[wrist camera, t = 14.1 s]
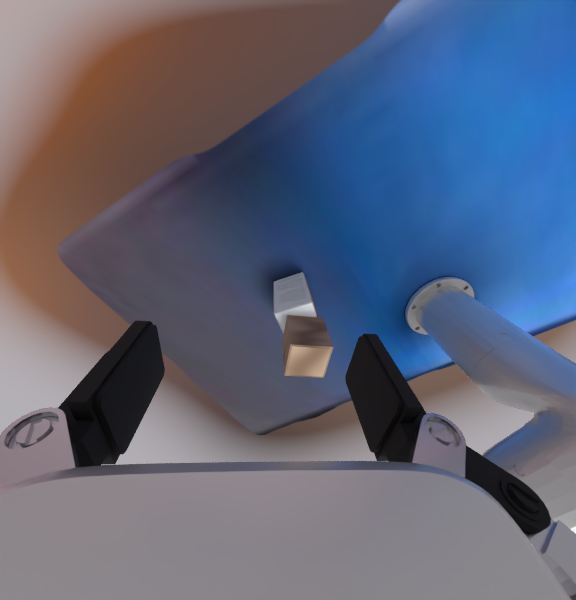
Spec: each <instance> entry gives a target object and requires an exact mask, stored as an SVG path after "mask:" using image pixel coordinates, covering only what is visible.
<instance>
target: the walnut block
mask: <svg viewBox="0 0 576 600" xmlns="http://www.w3.org/2000/svg"><path fill="white" fill-rule="evenodd" d="M282 348H283V361H284V375H285V376H303V377H324V375H325V372H326V369H327V365H328V362H329V359H330V356H331V353H332V349H333V345H332V342H331V340H330V337H329V334H328V331H327V328H326V325H325V323H324V320H323V318H318V317H306V316H294V315H287V318H286V324H285V330H284V336H283V342H282Z"/></svg>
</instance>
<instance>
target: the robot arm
mask: <svg viewBox="0 0 576 600" xmlns="http://www.w3.org/2000/svg"><path fill="white" fill-rule="evenodd" d="M405 317H406V321H407V323H408V325H409V326H410V327H411V328H412V329H413V330H414V331H415V332H417V333H420V334H424V335H429V336H430V337H431V338H432V339H433V340H434V341H435V342H436V343H437V344H438V345H439V346H440V347H441V348H442V349H443V350H444V352H445V353H446V354H447V355H448V356H449V357H450V358H451V359H452V360H453V361H454V362H455V363H456V364H457V365H458V366H459V368H460V369H461V370H462V371H463V372H464V373H465V374H466V375H467V376H468V377H469V378H470V379H471V380H472V381H473V382H474V383H475V385H477V387H478V388H479V389H480V390H481V391H482V392H483V393H485V394H486V395H487V396H488V397H490V398H491V399H493V400H495V401H496V402H499V403H501V404H504V405H507V406H510V407H514V408H518V409H522V410H526V411H531V412H534V417H533V418H532V419H531V420H530V421H529V422H528V423H526V424H525V425H524V426H523V427H522V428H520V429H518V430H517V431H515V432H514V433H512V434H510V435H509V436H507V437H506V438H504V439H503V440H502V441H500V442H498V443H497V444H495V445H494V446H492V447H491V448H490V449H488V450H487V451H485V452H484V453H483V455H480V454H479V453H477V452H475V451H474V450H472V449H471V448H469V447H467V446H466V442H465V438H464V436H463V434H462V432H461V431H460V430H459V428H458V427H457V426H456V425H455V424H453V423H452V422H451V421H450V420H448V419H447V418H445V417H443V416H441V415H438V414H435V413H428V414H426V412H425V411H424V409H423V407H422V405H421V404H420V402H419V401H418V399H417V397H416V396H415V394H414V393H413V391H412V390H411V388H410V387H409V385H408V383H407V382H406V380H405V379H404V377H403V375H402V374H401V372H400V371H399V369H398V367H397V366H396V364H395V363H394V361H393V360H392V358H391V356H390V355H389V353H388V352H387V350H386V348H385V347H384V345H383V344H382V342H381V341H380V339H379V337H378V336H377V335H376V334H363V335H362V336H361V337H359V339H358V341H357V344H356V347H355V350H354V353H353V356H352V359H351V362H350V365H349V367H348V370H347V373H346V384H347V386H348V389H349V392H350V395H351V398H352V401H353V403H354V406H355V409H356V412H357V415H358V418H359V420H360V423H361V426H362V429H363V432H364V435H365V438H366V440H367V443H368V446H369V449H370V451H371V452H374V453H375V456H376V459H377V461H325V462H324V461H319V462H318V461H317V462H315V461H314V462H313V461H312V462H311V461H309V462H225V463H223V462H222V463H165V464H129V465H102V466H101V464H115V463H116V461H117V459H118V457H119V455H120V454H124V453H125V452H126V450H127V448H128V446H129V444H130V442H131V440H132V438H133V436H134V434H135V432H136V430H137V428H138V426H139V424H140V422H141V420H142V418H143V416H144V414H145V412H146V410H147V408H148V406H149V404H150V402H151V400H152V398H153V396H154V394H155V392H156V390H157V388H158V386H159V384H160V382H161V380H162V378H163V376H164V370H165V369H164V364H163V358H162V353H161V347H160V342H159V337H158V331H157V327H156V325H153V324H152V322H150V321H135V322H134V323H133V324H132V325H131V326H130V327H129V329H128V330H127V331H126V332H125V333H124V334H123V336H122V337H121V338H120V339H119V340H118V341H117V343H116V344H115V345H114V346H113V347H112V348H111V349H110V351H108V352H107V353H106V354H104V356H103V357H102V358H101V359H100V360H99V361H98V363H97V364H96V365H95V366H94V367H93V368H92V369H91V371H90V372H89V373H88V374H87V375H86V376H85V378H84V379H83V380H82V381H81V382H80V383H79V384H78V386H77V387H76V388H75V389H74V390H73V391H72V393H71V394H70V395H69V396H68V397H67V398H66V399H65V401H64V402H63V403H62V404H61V405H60V406H59V408H44V409H39V410H36V411H34V412H31V413H29V414H27V415H24V416H22V417H21V418H19V419H18V420H16V421H15V422H13V423H12V424H10V425H9V426H8V427H7V428H6V429H5V430H4V431H3V432H2V434H1V435H0V600H576V363H574V362H572V361H571V360H569V359H567V358H566V357H564V356H562V355H561V354H559V353H558V352H556V351H554V350H553V349H551V348H550V347H548V346H547V345H545V344H544V343H542V342H541V341H539V340H537V339H536V338H534V337H533V336H531V335H530V334H528V333H527V332H525V331H524V330H522V329H521V328H519V327H518V326H516V325H514V324H513V323H511V322H510V321H508V320H507V319H505V318H504V317H502V316H501V315H499V314H498V313H496V312H495V311H493V310H492V309H491V308H490V307H487V306H485V305H484V304H482V303H481V302H479V301H478V300H476V299H475V298H474V291H473V289H472V287H471V285H470V284H468V283H467V282H466V281H464V280H462V279H460V278H457V277H443V278H439V279H436V280H433V281H431V282H429V283H427V284H426V285H424V286H423V287H421V288H420V289H419V290H418V291H417V292H416V293H415V294H414V295H413V296H412V298H411V299H410V300H409V302H408V305H407V307H406V311H405ZM382 461H389V462H382Z"/></svg>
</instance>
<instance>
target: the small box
mask: <svg viewBox="0 0 576 600" xmlns="http://www.w3.org/2000/svg"><path fill="white" fill-rule="evenodd" d="M273 283H274V315H275V317H276V319H277V321H278V323H279V325H280V328H281V330H282V332H283V334H284V330H285V324H286V318H287V315H294V316H306V317H318V314H317V311H316V308H315V305H314V302H313V299H312V296H311V293H310V291H309V288H308V285H307V282H306V279H305V276H304V273H303V272H301V273H298V274H295V275H292V276H289V277H286V278H283V279H280V280H277V281H274V282H273Z"/></svg>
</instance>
